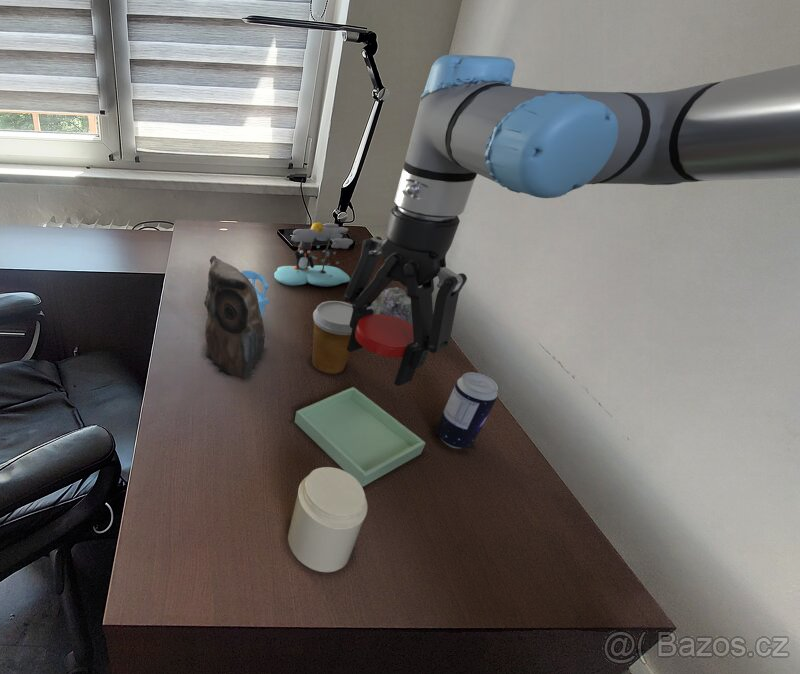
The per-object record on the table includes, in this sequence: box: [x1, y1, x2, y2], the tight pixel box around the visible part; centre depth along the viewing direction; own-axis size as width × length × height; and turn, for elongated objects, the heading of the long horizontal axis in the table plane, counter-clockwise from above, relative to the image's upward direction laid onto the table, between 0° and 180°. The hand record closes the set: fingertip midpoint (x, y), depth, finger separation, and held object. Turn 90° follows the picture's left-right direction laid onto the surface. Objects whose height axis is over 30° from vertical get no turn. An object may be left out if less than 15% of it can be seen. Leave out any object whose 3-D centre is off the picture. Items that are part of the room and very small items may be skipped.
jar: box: [287, 466, 368, 573], centre depth 56 cm, size 8×8×10 cm
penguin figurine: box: [273, 221, 354, 288], centre depth 117 cm, size 20×11×15 cm, turn 91°
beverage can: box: [435, 371, 499, 449], centre depth 72 cm, size 6×6×12 cm
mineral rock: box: [367, 286, 413, 325], centre depth 101 cm, size 13×11×10 cm
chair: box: [240, 270, 270, 320], centre depth 99 cm, size 8×8×12 cm
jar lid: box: [355, 314, 414, 359], centre depth 63 cm, size 8×8×2 cm
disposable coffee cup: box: [311, 300, 353, 374], centre depth 88 cm, size 10×10×12 cm
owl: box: [204, 255, 266, 381], centre depth 86 cm, size 13×13×20 cm
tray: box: [293, 386, 426, 488], centre depth 74 cm, size 15×13×2 cm
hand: (377, 364), depth 66 cm, fingers closed on jar lid, 8 cm apart
